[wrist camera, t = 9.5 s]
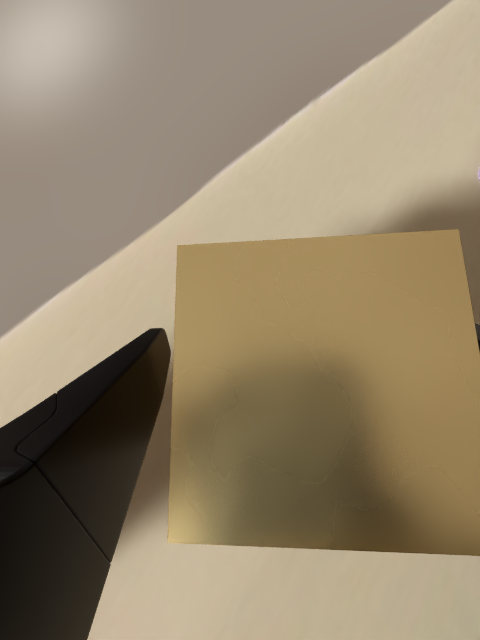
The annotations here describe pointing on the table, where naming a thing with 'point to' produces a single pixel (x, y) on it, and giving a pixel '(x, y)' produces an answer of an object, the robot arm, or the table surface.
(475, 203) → the table surface
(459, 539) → the tan rectangular block
